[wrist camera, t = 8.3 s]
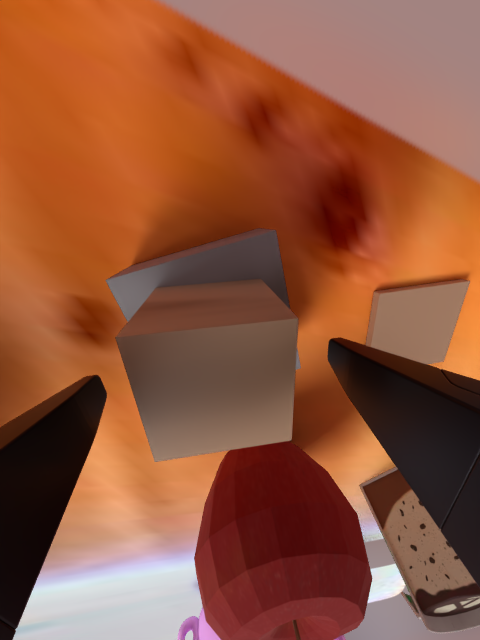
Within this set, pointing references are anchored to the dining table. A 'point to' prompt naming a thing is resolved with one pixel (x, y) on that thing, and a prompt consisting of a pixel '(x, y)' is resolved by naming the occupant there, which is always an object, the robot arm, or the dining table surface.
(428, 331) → the tile
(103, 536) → the dining table surface
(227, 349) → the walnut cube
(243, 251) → the grey flat block
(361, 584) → the apple
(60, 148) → the dining table surface
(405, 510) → the food container
